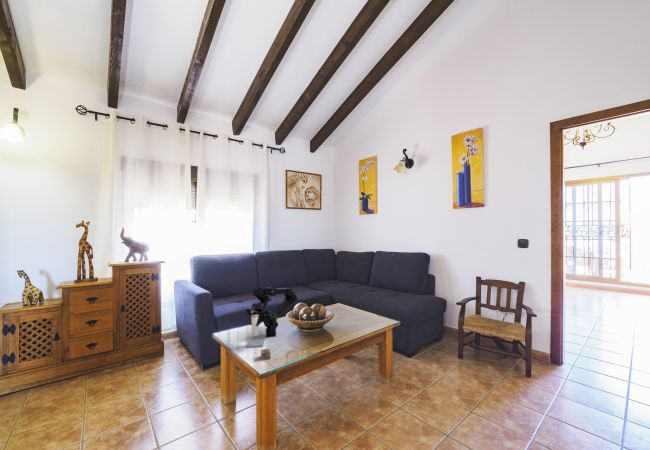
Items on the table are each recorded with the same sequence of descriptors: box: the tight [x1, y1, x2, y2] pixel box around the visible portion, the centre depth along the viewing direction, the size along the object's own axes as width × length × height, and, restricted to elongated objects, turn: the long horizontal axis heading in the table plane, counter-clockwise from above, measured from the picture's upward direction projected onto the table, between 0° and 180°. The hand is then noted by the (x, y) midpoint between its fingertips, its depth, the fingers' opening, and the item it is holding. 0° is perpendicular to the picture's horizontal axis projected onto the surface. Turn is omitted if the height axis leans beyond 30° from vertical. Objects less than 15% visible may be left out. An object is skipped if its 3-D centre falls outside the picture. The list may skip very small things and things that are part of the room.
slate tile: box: [246, 338, 266, 348], centre depth 181 cm, size 10×10×1 cm
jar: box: [250, 314, 260, 337], centre depth 181 cm, size 5×5×13 cm
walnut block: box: [260, 348, 271, 361], centre depth 162 cm, size 5×5×4 cm
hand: (253, 325), depth 179 cm, fingers closed on jar, 4 cm apart
